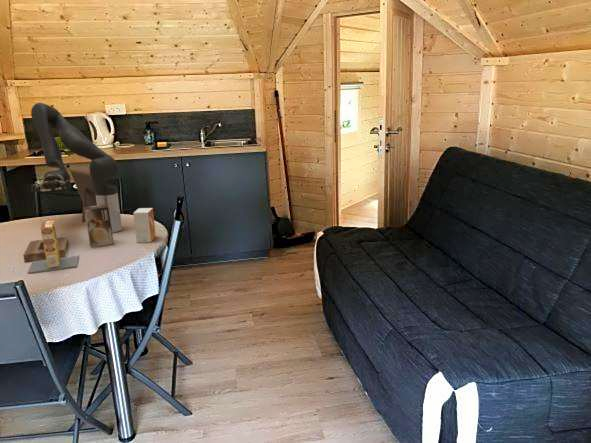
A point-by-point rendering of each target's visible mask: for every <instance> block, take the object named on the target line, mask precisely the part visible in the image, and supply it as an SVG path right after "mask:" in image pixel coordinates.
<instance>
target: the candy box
mask: <svg viewBox="0 0 591 443" xmlns="http://www.w3.org/2000/svg"><path fill="white" fill-rule="evenodd" d="M40 225H41V226H40V232H41V238H42V239H41V240H43V244H44V249H45V254H46V259H47V265H48V268H51V267H57V266H60V260H61V258H60V252H59V246H58V241H57V238H58V237H57V231H56V226H55V221H54V220H49V221H42V222H41V224H40ZM44 249H43V250H44Z"/></svg>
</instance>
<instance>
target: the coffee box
mask: <svg viewBox="0 0 591 443" xmlns="http://www.w3.org/2000/svg"><path fill="white" fill-rule="evenodd" d="M84 211H85V222H86V228H87V229H86V230H87V236H88V242H89V246H90V247H91V248H96V247H103V246H107V245H108V246H109V245H114V244H115V243H114V236H113V233H112V228H111V221H110V214H109V208H108V206H107V205H106V204H104V205H96V206H88V207H84Z"/></svg>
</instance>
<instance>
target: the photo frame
mask: <svg viewBox="0 0 591 443" xmlns="http://www.w3.org/2000/svg"><path fill="white" fill-rule="evenodd" d="M69 172H70V176H71V177H72V179H73V182H74V184H75V187H76V189H77V192H78V193H79V196H80V198H81V201H82V213H81V214H82V218H81V221H82V223H84V222H85V221H86V217H85V211H84V207H88V206H96V205H97V201H96V194H95V190H94V188H93V185H92V180H91V175H90V167H89V168H88V167H84V166H79V165H76V166H74V167H72V168H70V169H69Z"/></svg>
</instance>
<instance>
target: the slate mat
mask: <svg viewBox="0 0 591 443" xmlns="http://www.w3.org/2000/svg"><path fill="white" fill-rule="evenodd" d="M79 259H80V256H79V255H71V256H65V257H63V258H61V260H60V266H57V267H51V268H48V265H47V260H39V261H32V262H31V264H30V266H29V268H28V271H27V275H32V274H39V273H46V272H52V271H53V272H54V271H61V270H68V269H77V268H78V264H79Z"/></svg>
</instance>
